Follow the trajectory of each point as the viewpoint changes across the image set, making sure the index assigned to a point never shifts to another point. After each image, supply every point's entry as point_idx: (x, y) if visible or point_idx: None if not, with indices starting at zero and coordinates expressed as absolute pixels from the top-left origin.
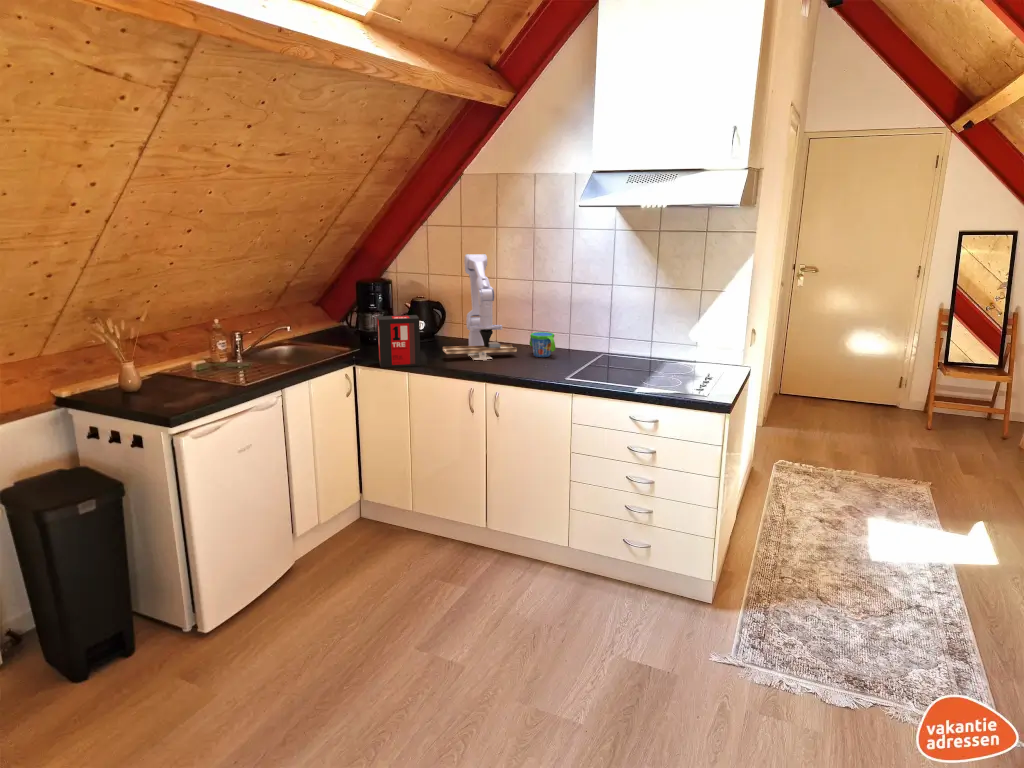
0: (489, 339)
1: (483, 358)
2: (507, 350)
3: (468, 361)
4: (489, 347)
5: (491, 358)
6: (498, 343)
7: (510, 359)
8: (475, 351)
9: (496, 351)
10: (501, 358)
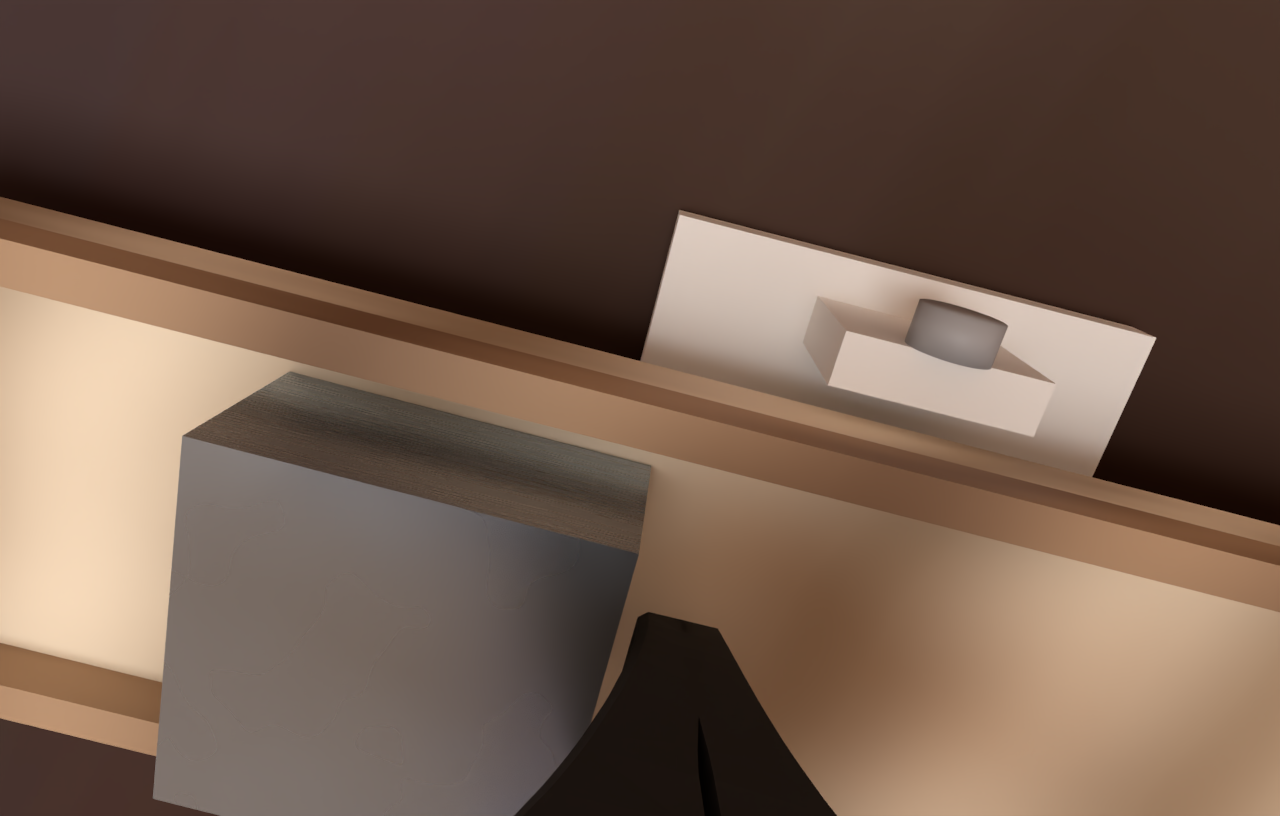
0: (581, 742)
1: (902, 299)
2: (83, 235)
3: (1274, 369)
4: (645, 499)
5: (699, 216)
6: (220, 545)
7: (206, 7)
8: (1147, 506)
9: (464, 323)
10: (378, 243)
